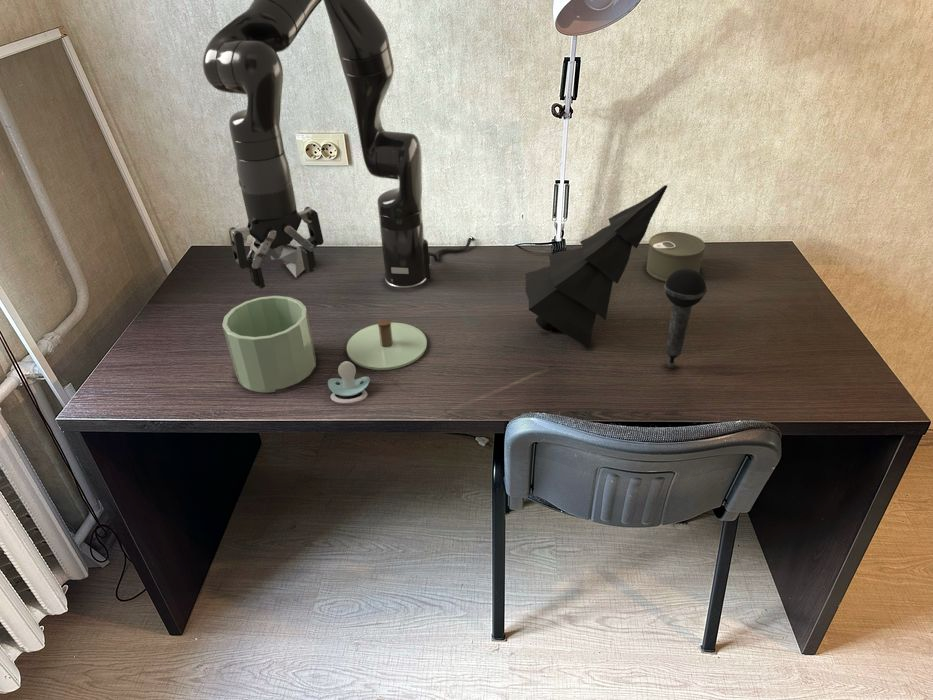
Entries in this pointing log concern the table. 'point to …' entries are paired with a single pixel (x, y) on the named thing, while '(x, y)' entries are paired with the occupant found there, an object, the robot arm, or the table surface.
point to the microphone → (681, 306)
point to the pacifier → (348, 384)
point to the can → (673, 253)
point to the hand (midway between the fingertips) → (285, 278)
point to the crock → (270, 343)
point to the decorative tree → (587, 273)
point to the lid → (386, 345)
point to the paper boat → (291, 258)
